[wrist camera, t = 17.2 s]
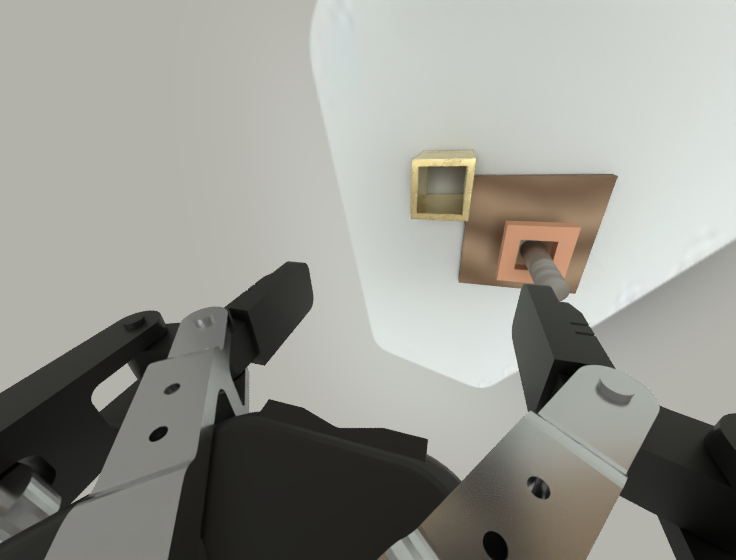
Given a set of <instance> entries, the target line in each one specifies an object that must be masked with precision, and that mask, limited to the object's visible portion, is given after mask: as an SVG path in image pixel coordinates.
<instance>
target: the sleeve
mask: <svg viewBox="0 0 736 560" xmlns="http://www.w3.org/2000/svg"><path fill="white" fill-rule="evenodd" d="M475 164H476V156H475V153H474V150H446V151H423V152H422V153H421V154H419V155H418V156H417V157H415V158H414V159H412V184H411V219H429V220H453V221H468V218H469V210H470V202H471V195H472V187H473V179H474V172H475ZM428 166H466V172H465V180H464V189H463V194H427V180H428Z"/></svg>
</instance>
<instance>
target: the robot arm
mask: <svg viewBox="0 0 736 560" xmlns="http://www.w3.org/2000/svg"><path fill="white" fill-rule="evenodd" d="M312 305H313V291H312V285H311V279H310V273H309V268H308V265H307V264H306V263H300V262H286V263H285V264H284V265H282V266H281V267H280V268H278V269H277V270H276V271H274V272H273V273H271V274H269V275H267V276H265V277H263V278H262V279H260V280H259V281H258V282H256V283H255V285H253V286H251V287H250V288H249V289H248V291H245V292H244V293H242V294H241V295H240V296H239V297H237V298H236V299H235V300H233V301H232V302H231V303H229V304H228V305H227V306H226V307H224V308H223V307H208V308H204V309H201V310H198V311H196V312H193V313H191V314H190V315H188V316H187V317H186V318H184V319H183V320H182V322H181V323H171V324H165V322H164V320H163V318H162V316H161V314H160V313H159V312H157V311H143V312H139V313H135V314H133V315H130V316H127V317H125V318H123V319H121V320H119V321H118V322H116V323H115V324H113V325H111V326H109V327H108V328H106V329H105V330H103V331H101V332H100V333H98V334H96V335H95V336H93V337H91V338H90V339H88V340H87V341H85V342H83V343H82V344H80V345H78V346H77V347H75V348H73V349H72V350H70V351H69V352H67V353H65V354H64V355H62V356H61V357H59V358H57V359H56V360H54V361H52V362H51V363H49V364H47V365H46V366H44V367H42V368H41V369H39V370H37V371H36V372H34V373H33V374H31V375H29V376H28V377H26V378H24V379H23V380H21V381H19V382H18V383H16V384H15V385H13V386H11V387H10V388H8V389H6V390H5V391H3V392H1V393H0V560H586V558H587V556H588V554H589V553H590V551H591V548H592V547H593V545H594V543H595V541H596V539H597V537H598V535H599V533H600V531H601V529H602V528H603V526H604V524H605V522H606V520H607V518H608V516H609V514H610V512H611V510H612V508H613V506H614V504H615V503H616V500H617V499H618V497H619V496H622V497H623V498H625V499H627V500H629V501H631V502H633V503H635V504H637V505H638V506H640V507H642V508H644V509H646V510H648V511H650V512H652V513H654V514H656V515H657V516H658V518H659V520H660V523H661V525H662V527H663V530H664V532H665V534H666V537H667V539H668V541H669V544H670V546H671V548H672V551H673V553H674V555H675V557H676V560H736V414H735V413H734V414H728V415H725V416H723V417H722V418H721V419H720V420H719V421H718V422H717V424H716V425H715V426H713V425H710V424H707V423H704V422H702V421H699V420H696V419H693V418H691V417H688V416H685V415H682V414H679V413H677V412H674V411H671V410H669V409H666V408H664V407H662V406H660V405H659V403H658V400H657V398H656V397H655V395H654V394H653V393H652V392H651V391H650V390H649V389H648V388H647V387H646V386H645V385H644V384H642V383H641V382H640V381H638V380H637V379H635V378H633V377H632V376H630V375H628V374H625V373H623V372H621V371H619V370H616V369H615V367H614V366H613V364H612V362H611V361H610V359H609V357H608V356H607V354H606V352H605V351H604V349H603V348H602V346H601V344H600V342H599V341H598V339H597V338H596V337H595V336H594V333H593V331H592V329H591V328H590V327H588V325H589V324H588V323H587V321H586V319H585V318H584V316H583V314H582V313H581V312H580V311H578V310H577V309H576V308H574V307H573V306H572V305H570V304H569V303H566V302H559V300H558V299H557V297H556V295H555V293H554V291H553V289H552V287H551V286H547V285H536V284H523V286H522V289H521V292H520V296H519V300H518V304H517V308H516V312H515V316H514V320H513V326H512V340H513V345H514V349H515V354H516V358H517V363H518V368H519V372H520V377H521V381H522V386H523V390H524V395H525V399H526V404H527V409H528V413H527V414H526V415H525V416H524V417H523V418H522V419H521V420H520V421H519V422H518V423H517V424H516V425H515V426H514V427H513V428H512V429H511V430H510V431H509V432H508V433H507V434H506V435H505V437H504V438H503V439H502V440H501V441H500V442H499V443H498V444H497V445H496V446H495V447H494V448H493V449H492V450H491V451H490V452H489V453H488V454H487V455H486V456H485V458H484V459H483V460H482V461H481V462H480V463H479V464H478V465H477V466H476V467H475V468H474V469H473V470H472V471H471V472H470V473H469V474H468V475H467V476H466V478H465V479H464V480H463V481H461V480H460V479H459V478H458V477H457V476H456V475H455V474H454V473H453V472H452V471H450V470H449V469H448V468H447V467H446V466H444V465H443V464H442V463H440V462H439V461H437V460H436V459H434V458H433V457H431V456H429V455H427V443H428V440H427V439H425V438H421V437H417V436H413V435H409V434H405V433H401V432H397V431H393V430H389V429H385V428H337V427H335V426H333V425H331V424H330V423H328V422H326V421H325V420H323V419H321V418H319V417H318V416H316V415H314V414H313V413H311V412H309V411H308V410H306V409H304V408H302V407H298V406H294V405H290V404H285V403H282V402H278V401H274V400H270V399H269V400H268V402H267V403H266V404H265V406H264V407H263V409H262V410H261V411H260V412H252V413H249V371H248V368H247V366H248V365H249V364H250V363H255V364H260V365H266V363H267V362H268V361H269V360H270V358H271V357H272V356H273V355H274V354H275V352H276V351H277V350H278V349H279V347H280V346H281V345H282V344H283V343H284V341H285V340H286V339H287V338H288V336H289V335H290V334H291V333H292V332H293V330H294V329H295V328H296V327H297V325H298V324H299V323H300V322H301V321H302V319H303V318H304V317H305V315H306V314H307V313H308V312H309V311H310V309H311V307H312ZM126 363H128V365H129V367H130V368H131V370H132V371H133V373H134V375H135V376H136V377H137V379H138V380H137V381H136V382H134V383H133V384H132V385H131V386H130V387H128V388H127V389H126V390H125V391H124V392H123V393H121V394H120V395H119V396H118V397H117V398H115V399H114V400H113V401H112V402H111V403H109V404H108V405H107V406H106V407H105V408H104V409H102V410H101V411H100V412H98V410H97V409H96V408H95V406H94V405H93V404H92V402H91V396H92V393H93V391H94V389H95V388H96V387H97V386H98V385H99V384H100V383H101V382H103V381H104V380H105V379H107V378H108V377H109V376H111V375H112V374H113V373H115V372H116V371H117V370H118V369H120V368H121V367H122V366H124V365H125V364H126ZM99 474H100V476H99V478H98V481H97V483H96V485H95V487H94V489H93V490H92V492H91V493H90V494H88V495H87V496H85V497H83V498H81V499H80V500H78V501H76V502H74V503H72V502H73V500H75V499H76V498H77V497H78V495H80V493H82V491H83V490H84V489H85V488H86V487H87V486H88V485H89V484H90V483H91V482H92V481H93V480H94V479H95V478H96V477H97V476H98V475H99ZM71 503H72V504H71Z"/></svg>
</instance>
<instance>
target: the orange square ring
mask: <svg viewBox="0 0 736 560" xmlns="http://www.w3.org/2000/svg"><path fill="white" fill-rule="evenodd" d="M580 230H581V227H580V226H579V225H577V224H576V223H560V222H533V221H506V222H505V227H504V233H503V238H502V243H501V248H500V253H499V258H498V264H497V269H496V279H497V280H501V281H512V282H523V283H534V282H533V280H532V278H531V275H530V273H529V271H528V268H527V266H526V264H515V263H516V259H517V254H518V250H519V245H520V241H521V240H536V241H553V244H552V248H551V251H550V257H551V259H552V260H553V262H554V263H555V265H556V266H557V268H558V270H559V271H560V273H561V274H562V276H563V278H565V275H566V272H567V269H568V266H569V263H570V260H571V257H572V254H573V251H574V248H575V245H576V242H577V239H578V236H579V233H580Z"/></svg>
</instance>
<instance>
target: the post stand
mask: <svg viewBox="0 0 736 560" xmlns="http://www.w3.org/2000/svg"><path fill="white" fill-rule="evenodd" d="M617 177H618V176H616V175H613V174H551V175H474V179H473V187H472V195H471V202H470V210H469V218H468V221H466V224H465V232H464V240H463V249H462V257H461V265H460V273H459V282H460V283H470V284H480V285H491V286H501V287H512V288H522V286H523V284H536V285H547V286H551V287H552V289H553V291H554V293H555V295H556V297H557V299H558V300H559V302H560V301H562V300H564V299H565V298H566V297H567V296H568V295H569V293H574V294H575V293H576V290H577V288H578V285H579V282H580V279H581V276H582V274H583V271H584V268H585V265H586V263H587V260H588V257H589V254H590V252H591V249H592V246H593V243H594V240H595V238H596V235H597V232H598V229H599V227H600V224H601V221H602V218H603V216H604V213H605V210H606V207H607V204H608V202H609V199H610V196H611V193H612V191H613V188H614V185H615V182H616V180H617ZM506 221H533V222H560V223H576V224H577V225H579V226H580V227H581V230H580V233H579V236H578V239H577V242H576V245H575V248H574V251H573V254H572V257H571V260H570V263H569V266H568V269H567V272H566V275H565V278H563V276H562V274H561V273H560V271H559V270H558V268H557V266H556V265H555V263H554V262H553V260H552V259H551V257H550V251H551V248H552V244H553V241H536V240H521V241H520V245H519V250H518V254H517V259H516V263H515V264H526V266H527V268H528V271H529V273H530V275H531V278H532V280H533V282H534V283H523V282H512V281H501V280H497V279H496V269H497V264H498V258H499V253H500V248H501V243H502V238H503V233H504V227H505V222H506Z"/></svg>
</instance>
